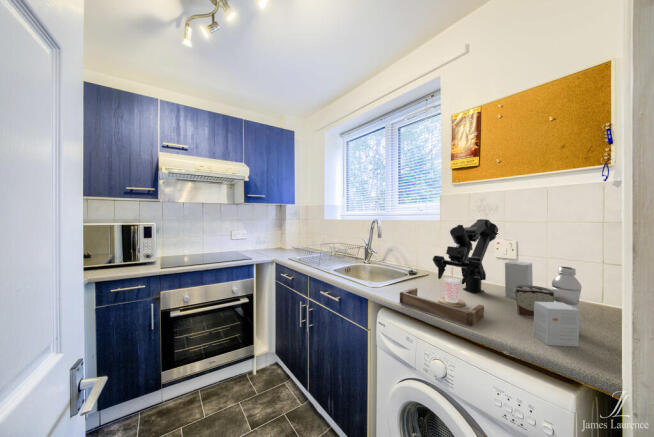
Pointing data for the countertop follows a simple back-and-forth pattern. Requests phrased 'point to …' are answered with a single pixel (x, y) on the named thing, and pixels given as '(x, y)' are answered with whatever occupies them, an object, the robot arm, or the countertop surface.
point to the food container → (531, 298)
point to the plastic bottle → (567, 288)
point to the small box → (556, 323)
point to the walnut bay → (442, 308)
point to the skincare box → (517, 276)
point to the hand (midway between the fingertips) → (450, 281)
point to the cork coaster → (458, 304)
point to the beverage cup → (451, 289)
